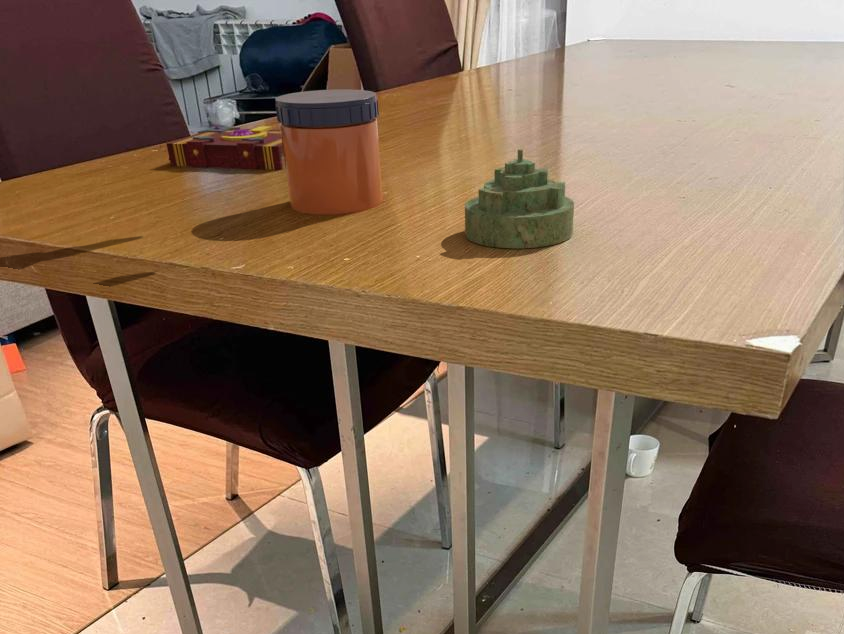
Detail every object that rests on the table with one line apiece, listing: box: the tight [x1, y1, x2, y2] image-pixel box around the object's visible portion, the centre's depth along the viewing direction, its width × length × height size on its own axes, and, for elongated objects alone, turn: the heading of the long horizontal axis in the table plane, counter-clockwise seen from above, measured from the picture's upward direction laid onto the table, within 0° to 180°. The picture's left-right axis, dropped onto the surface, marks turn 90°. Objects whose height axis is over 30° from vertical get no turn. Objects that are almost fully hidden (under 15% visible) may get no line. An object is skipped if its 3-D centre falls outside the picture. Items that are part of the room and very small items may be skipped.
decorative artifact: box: [464, 148, 575, 250], centre depth 76 cm, size 10×7×10 cm
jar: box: [279, 117, 384, 215], centre depth 80 cm, size 9×9×10 cm
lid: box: [274, 88, 380, 127], centre depth 77 cm, size 9×9×2 cm
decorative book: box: [165, 125, 286, 171], centre depth 102 cm, size 11×16×5 cm
